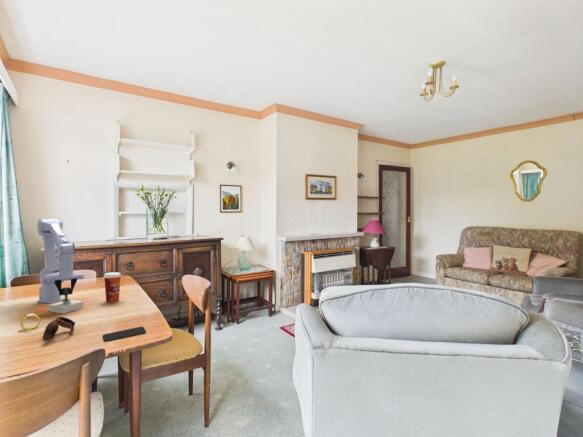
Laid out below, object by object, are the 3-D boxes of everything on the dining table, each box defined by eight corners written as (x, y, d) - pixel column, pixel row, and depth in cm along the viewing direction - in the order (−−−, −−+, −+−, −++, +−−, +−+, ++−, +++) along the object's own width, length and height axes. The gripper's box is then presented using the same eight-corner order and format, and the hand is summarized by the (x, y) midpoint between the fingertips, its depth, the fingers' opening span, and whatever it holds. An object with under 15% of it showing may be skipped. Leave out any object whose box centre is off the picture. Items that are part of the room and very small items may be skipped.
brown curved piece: (47, 333, 125) (60, 314, 127) (69, 342, 126) (82, 323, 128) (30, 338, 113) (44, 316, 116) (55, 348, 114) (68, 327, 117)
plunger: (59, 302, 150) (59, 288, 150) (67, 300, 154) (66, 287, 153) (65, 303, 149) (65, 289, 149) (72, 301, 153) (72, 287, 152)
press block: (48, 311, 148) (48, 305, 148) (68, 304, 158) (68, 299, 158) (63, 313, 145) (63, 307, 145) (83, 307, 155) (83, 301, 155)
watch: (39, 326, 131) (40, 312, 131) (39, 328, 129) (40, 314, 129) (20, 328, 127) (22, 314, 127) (20, 330, 125) (21, 316, 125)
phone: (102, 334, 123) (142, 326, 132) (102, 336, 123) (142, 327, 132) (104, 341, 117) (146, 332, 126) (104, 343, 117) (146, 333, 126)
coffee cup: (113, 303, 161) (113, 275, 161) (100, 302, 163) (99, 274, 162) (124, 299, 169) (124, 272, 169) (112, 297, 171) (112, 271, 170)
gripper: (46, 270, 143) (46, 298, 144) (83, 267, 152) (83, 294, 152) (48, 267, 149) (48, 295, 150) (83, 265, 157) (83, 291, 158)
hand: (66, 294), depth 151 cm, fingers closed on plunger, 4 cm apart
